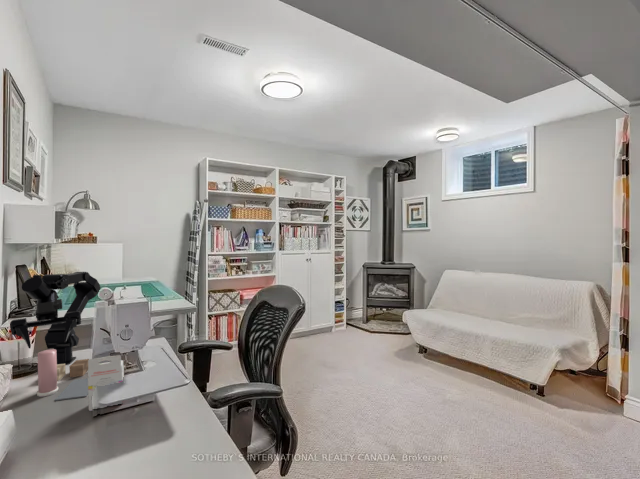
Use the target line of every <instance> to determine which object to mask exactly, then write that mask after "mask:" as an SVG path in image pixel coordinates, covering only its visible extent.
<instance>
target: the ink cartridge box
mask: <svg viewBox="0 0 640 479" xmlns="http://www.w3.org/2000/svg"><path fill="white" fill-rule="evenodd" d="M88 359H89V360H88V371H87V378H88V395H87V399H88V402H87V403H88V411H89V412H91V411H93V410H92V396H93V392H94V391H95V388H96V386H105V385H110V384H114V383H120V382H122V381H123V377H124V378H125V370H124V359H123V360H122V356H121V355H120V354H117V355H112V356H111V355H110V356H103V357H97V358H88ZM104 361H106V362H104ZM108 361H109V362H108ZM100 362H103V363H100Z"/></svg>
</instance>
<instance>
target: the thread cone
mask: <svg viewBox="0 0 640 479" xmlns="http://www.w3.org/2000/svg"><path fill="white" fill-rule="evenodd" d="M37 384H38V386H37V388H38V389H37V392H36V396H37V397H39V398H42V397H49V396H52V395H54V394H56V393H58V392H59V386H58V380H57V353H56V350H55V349H54V348H50V349H46V350H45V349H44V350H41V351H39V352H37Z"/></svg>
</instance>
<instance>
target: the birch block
mask: <svg viewBox="0 0 640 479" xmlns="http://www.w3.org/2000/svg"><path fill="white" fill-rule="evenodd" d="M65 376H66V364H57V381H60V380H62V378H63V377H65Z"/></svg>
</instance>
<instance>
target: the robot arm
mask: <svg viewBox="0 0 640 479" xmlns="http://www.w3.org/2000/svg"><path fill="white" fill-rule="evenodd" d="M71 284H73V289H74V292H75V298H74V299H73V301H72V302H71V304H70V306H69V307H68V309H67V310H66V312H65V314H64V315H63V316H60V317H59V311H58V310H62V309H63V299H62V298H59V295H58V292H57V290H64V289H67V288H68V287H69V285H71ZM21 290H22V291H24V293H26V294H27V295H28V297H30V298H32V299H33V300H36V310H35V319H36V320H32V321H27V320H28V319H27V318H26V317H25V318H17V319H16V318H15V319H12V320H11V321H10V322H9V329H10V333H11V335H13V336H16V337H21V338H22V339H23V340H24V342H25V343H26V345H27V347H28V349H31V346H32V344H31V339H30V332H29V328H36V327H42V326H49V325H50V327H49V329H47V332H46V334H45V335H44V342H45V346H46V348H47V349H46V350H50V349H55V350H56V353H57V364H65V365H71V364H72V362H74V361H75V360H76V359H77V356H73V347H77V346H78V344H79V341H80V338H79V337H78V336H77V334H76V330H75V328H77V326H79V325H81V324H82V317H81V316H82V313H83V311H84V310H85V308H86V306H87V304H88V303H89V301H91V300H92V299H94V298H95V297H96V296H97V295H99V292H100V291H99V290H101V285H100V283H99V281H98V279H96V278H94V277H93V276H92V275H90V273H89V272H88V271H75V272H73V273H72V272H71V273H66V274H64V273H57V274H55V273H54V274H50V273H49V274H43V275H42V276H41V274H34V275H33V276H32V277H31V278H28V279H27V280H24V282H23V283H22V284H21Z"/></svg>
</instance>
